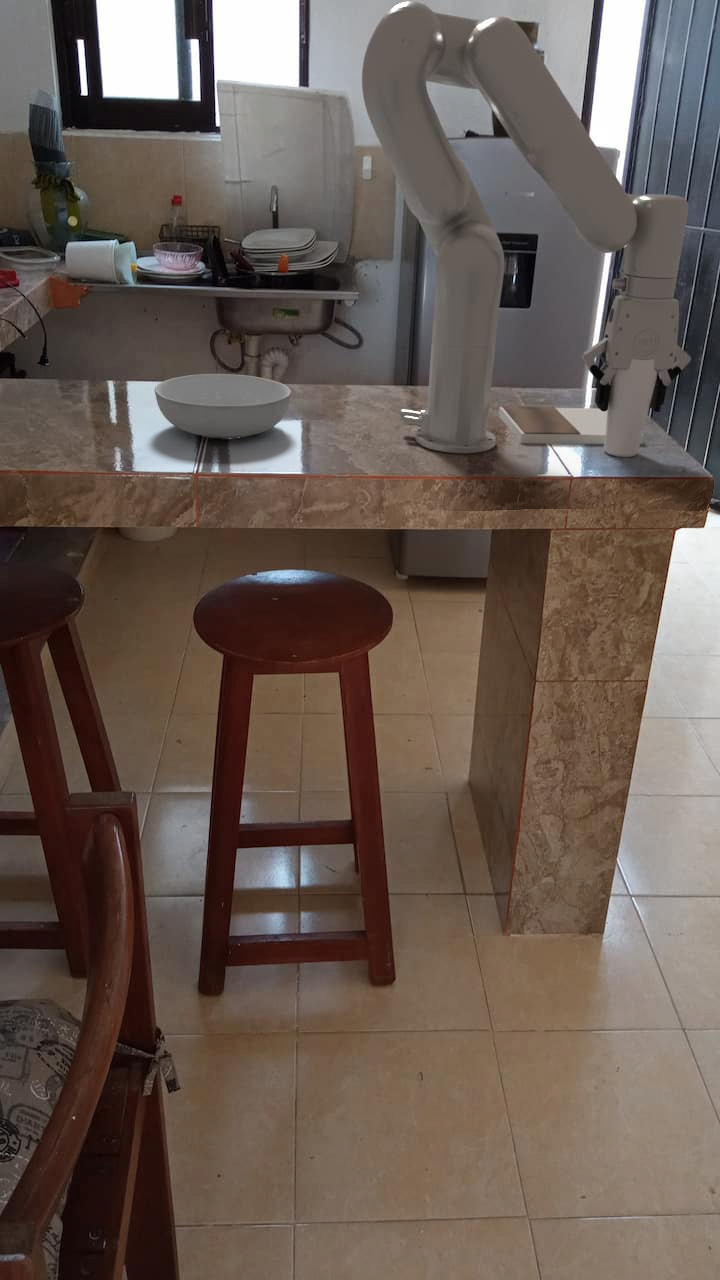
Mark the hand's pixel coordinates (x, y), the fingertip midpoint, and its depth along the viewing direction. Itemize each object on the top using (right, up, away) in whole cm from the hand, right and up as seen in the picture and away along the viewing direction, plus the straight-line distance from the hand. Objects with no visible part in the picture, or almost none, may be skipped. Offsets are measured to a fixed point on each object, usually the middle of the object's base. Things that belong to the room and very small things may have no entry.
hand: (628, 408), depth 152 cm
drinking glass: (0, -6, +3) cm, 7 cm away
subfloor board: (-6, 0, +14) cm, 15 cm away
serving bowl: (-62, -3, +6) cm, 63 cm away
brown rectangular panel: (-11, 0, +13) cm, 17 cm away
